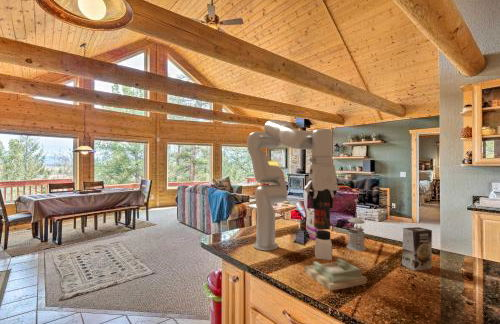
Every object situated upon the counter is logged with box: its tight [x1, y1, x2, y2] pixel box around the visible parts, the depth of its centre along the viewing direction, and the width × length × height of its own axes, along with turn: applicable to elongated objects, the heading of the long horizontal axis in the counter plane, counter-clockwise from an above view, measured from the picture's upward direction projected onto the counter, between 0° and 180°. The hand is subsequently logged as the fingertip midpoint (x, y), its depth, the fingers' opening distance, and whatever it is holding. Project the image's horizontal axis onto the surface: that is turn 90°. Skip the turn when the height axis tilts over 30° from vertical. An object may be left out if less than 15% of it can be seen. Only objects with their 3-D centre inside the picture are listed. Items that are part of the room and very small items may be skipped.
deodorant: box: [314, 189, 331, 230], centre depth 97 cm, size 6×6×15 cm
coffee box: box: [401, 226, 433, 271], centre depth 107 cm, size 9×6×16 cm
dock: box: [303, 257, 368, 292], centre depth 96 cm, size 16×16×5 cm
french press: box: [345, 199, 367, 252], centre depth 130 cm, size 10×12×25 cm
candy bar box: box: [305, 208, 324, 241], centre depth 146 cm, size 11×5×16 cm, turn 17°
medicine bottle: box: [314, 229, 333, 261], centre depth 117 cm, size 7×7×12 cm
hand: (322, 207), depth 97 cm, fingers closed on deodorant, 6 cm apart
